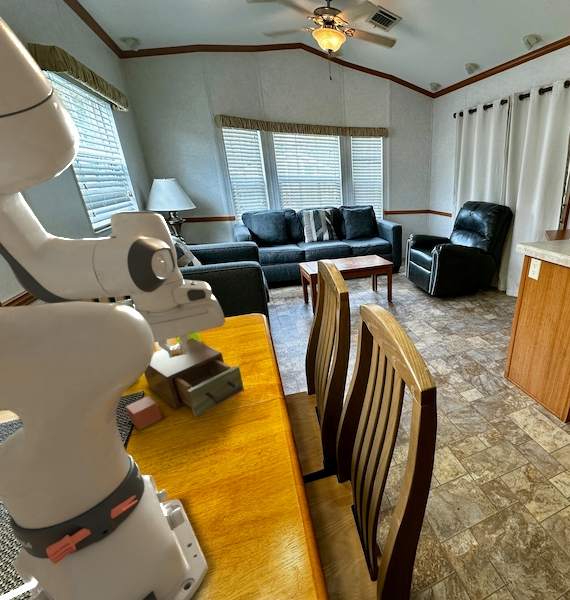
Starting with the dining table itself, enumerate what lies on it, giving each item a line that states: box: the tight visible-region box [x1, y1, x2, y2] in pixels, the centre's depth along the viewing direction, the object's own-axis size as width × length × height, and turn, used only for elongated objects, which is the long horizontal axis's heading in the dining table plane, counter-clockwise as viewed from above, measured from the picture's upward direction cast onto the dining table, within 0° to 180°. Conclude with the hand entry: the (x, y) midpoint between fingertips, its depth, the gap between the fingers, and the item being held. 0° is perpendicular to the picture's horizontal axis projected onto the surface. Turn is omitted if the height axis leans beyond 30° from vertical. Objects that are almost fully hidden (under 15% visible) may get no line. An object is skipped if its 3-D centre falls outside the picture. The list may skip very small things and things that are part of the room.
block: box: [125, 395, 163, 431], centre depth 73 cm, size 4×4×4 cm
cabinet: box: [143, 338, 225, 409], centre depth 84 cm, size 15×13×9 cm
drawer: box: [172, 359, 245, 418], centre depth 78 cm, size 18×12×7 cm, turn 57°
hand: (177, 354), depth 70 cm, fingers closed
